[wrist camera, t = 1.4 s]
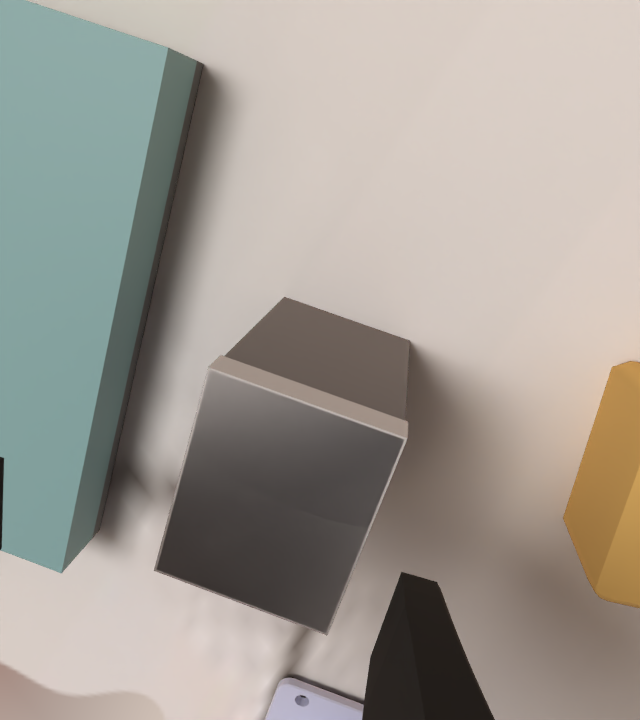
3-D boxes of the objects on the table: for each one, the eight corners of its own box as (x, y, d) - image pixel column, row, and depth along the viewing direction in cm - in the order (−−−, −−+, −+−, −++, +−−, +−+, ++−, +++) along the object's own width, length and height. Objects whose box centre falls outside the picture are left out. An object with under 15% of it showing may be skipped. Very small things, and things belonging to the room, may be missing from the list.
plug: (411, 339, 18) (407, 438, 12) (357, 480, 20) (327, 636, 13) (283, 294, 19) (208, 366, 12) (240, 438, 20) (154, 570, 14)
